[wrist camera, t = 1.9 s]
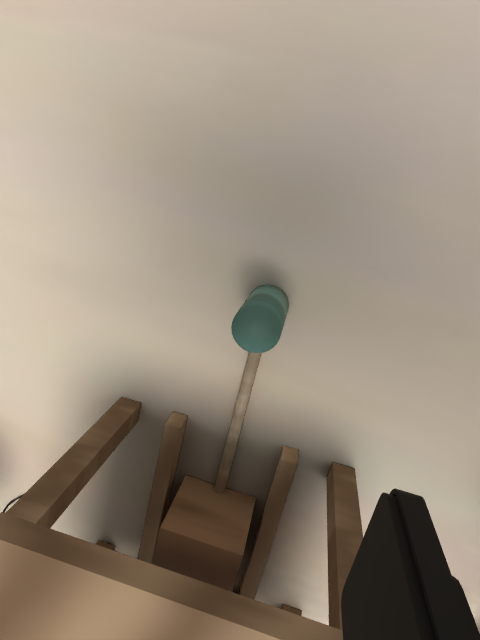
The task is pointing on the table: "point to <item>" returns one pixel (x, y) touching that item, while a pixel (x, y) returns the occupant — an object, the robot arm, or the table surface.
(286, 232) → the table surface
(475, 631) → the robot arm
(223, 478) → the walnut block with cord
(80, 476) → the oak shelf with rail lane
